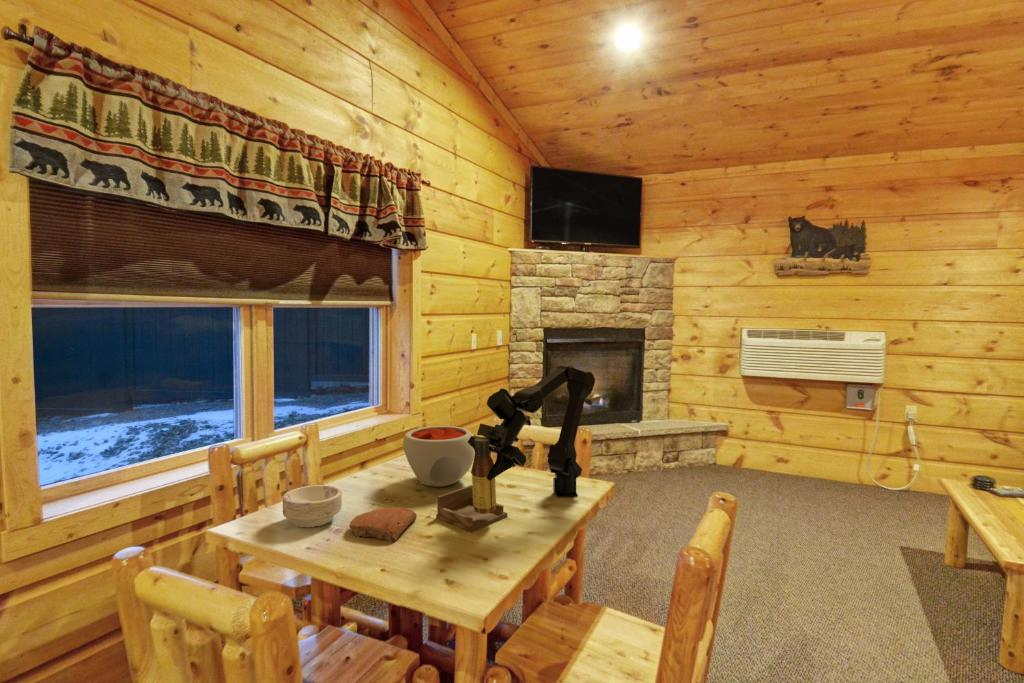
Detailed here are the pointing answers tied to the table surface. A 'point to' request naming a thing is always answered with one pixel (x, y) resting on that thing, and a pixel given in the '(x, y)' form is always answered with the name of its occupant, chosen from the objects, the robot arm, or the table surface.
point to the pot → (439, 454)
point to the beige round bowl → (312, 505)
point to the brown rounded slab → (383, 523)
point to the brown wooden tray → (465, 510)
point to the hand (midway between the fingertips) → (480, 476)
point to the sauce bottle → (483, 478)
